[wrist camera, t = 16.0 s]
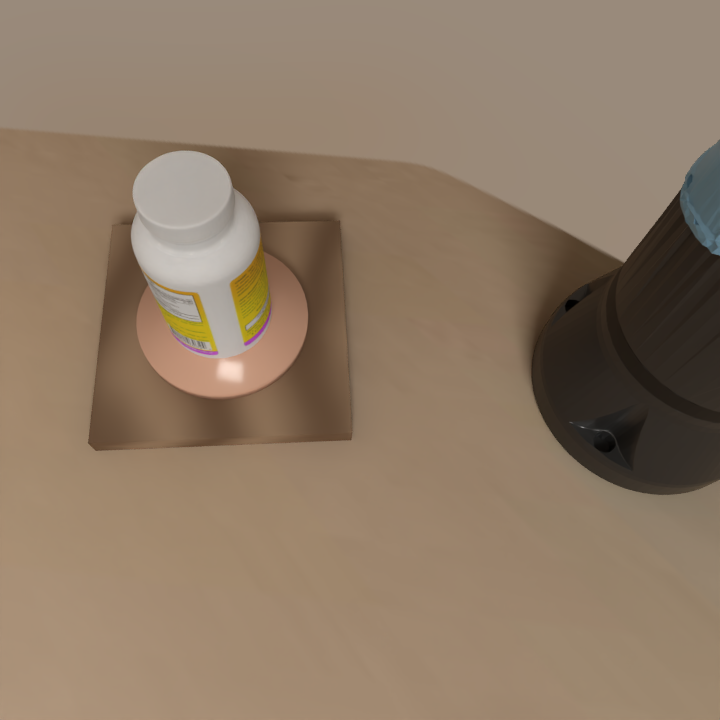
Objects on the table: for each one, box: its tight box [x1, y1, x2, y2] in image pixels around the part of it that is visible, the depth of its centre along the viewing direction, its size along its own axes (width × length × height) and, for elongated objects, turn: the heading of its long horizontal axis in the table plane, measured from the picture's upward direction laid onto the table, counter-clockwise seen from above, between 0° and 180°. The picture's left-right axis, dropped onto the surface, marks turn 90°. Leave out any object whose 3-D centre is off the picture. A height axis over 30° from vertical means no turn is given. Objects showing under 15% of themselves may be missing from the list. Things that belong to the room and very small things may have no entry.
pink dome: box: [136, 252, 308, 400], centre depth 44 cm, size 11×11×1 cm
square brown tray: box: [88, 221, 352, 451], centre depth 45 cm, size 16×16×2 cm
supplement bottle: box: [131, 151, 272, 358], centre depth 38 cm, size 7×7×13 cm
